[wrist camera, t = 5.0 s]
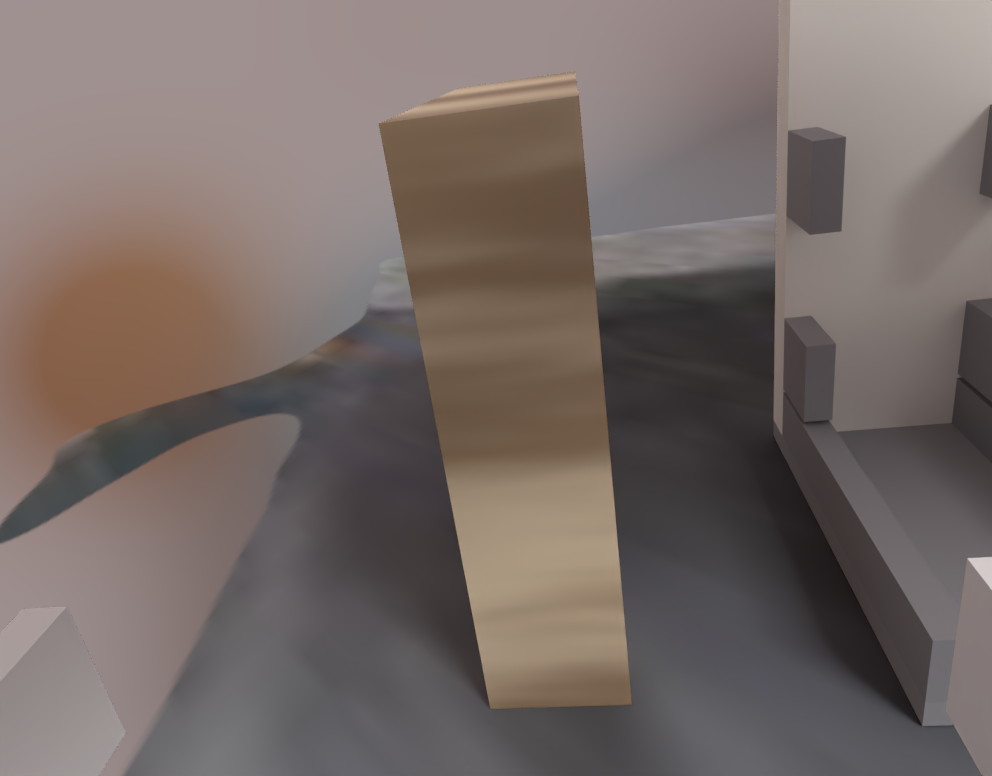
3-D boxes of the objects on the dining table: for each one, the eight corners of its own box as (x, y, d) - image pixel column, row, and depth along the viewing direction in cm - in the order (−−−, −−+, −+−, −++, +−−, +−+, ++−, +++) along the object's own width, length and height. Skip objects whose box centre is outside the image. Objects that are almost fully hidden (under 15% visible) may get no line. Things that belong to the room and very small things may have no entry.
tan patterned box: (631, 704, 21) (578, 95, 15) (490, 709, 22) (378, 123, 15) (610, 478, 32) (575, 71, 25) (516, 485, 32) (458, 88, 26)
